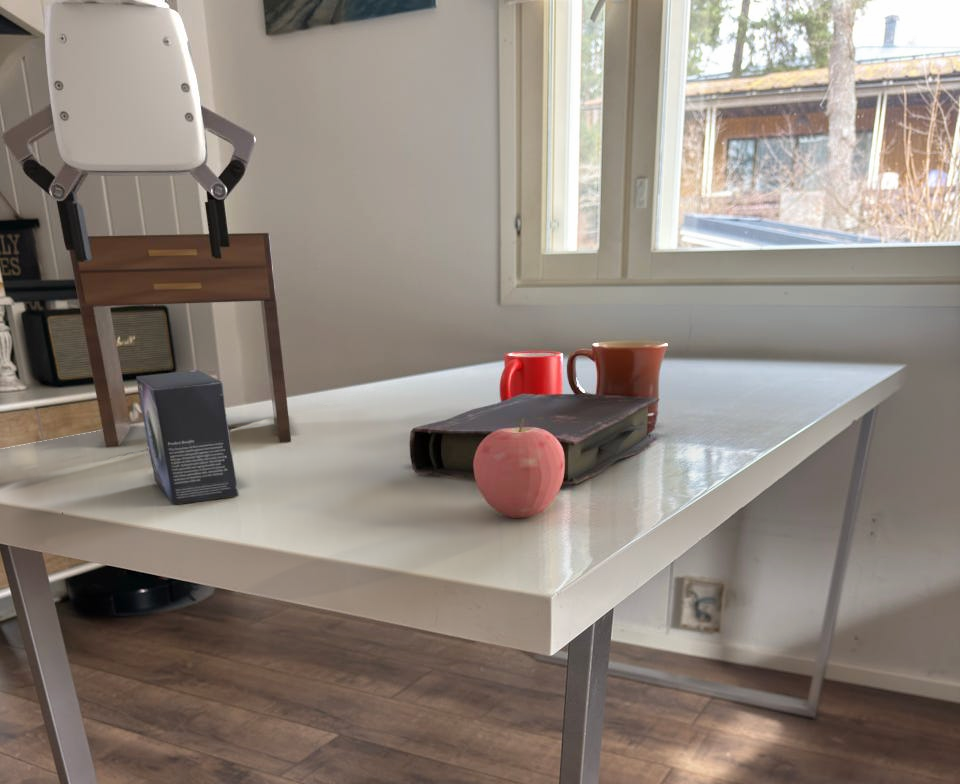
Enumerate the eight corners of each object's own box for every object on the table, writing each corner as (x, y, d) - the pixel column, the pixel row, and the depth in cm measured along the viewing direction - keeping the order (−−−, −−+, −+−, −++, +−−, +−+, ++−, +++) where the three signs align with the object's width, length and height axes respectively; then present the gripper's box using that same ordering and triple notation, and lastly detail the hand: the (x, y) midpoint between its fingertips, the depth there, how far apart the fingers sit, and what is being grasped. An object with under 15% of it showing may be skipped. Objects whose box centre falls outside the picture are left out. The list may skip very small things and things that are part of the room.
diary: (408, 475, 89) (405, 424, 87) (516, 432, 110) (516, 390, 108) (581, 492, 81) (582, 436, 79) (663, 442, 101) (666, 397, 99)
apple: (575, 507, 76) (576, 412, 73) (550, 530, 70) (550, 427, 67) (493, 501, 79) (492, 409, 76) (462, 523, 73) (459, 424, 69)
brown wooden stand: (291, 441, 108) (269, 232, 99) (107, 454, 103) (66, 236, 94) (285, 423, 120) (264, 236, 111) (120, 433, 116) (85, 239, 107)
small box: (150, 483, 89) (131, 374, 85) (216, 475, 91) (201, 369, 87) (168, 506, 80) (148, 386, 76) (241, 496, 83) (225, 379, 79)
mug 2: (671, 428, 109) (676, 341, 105) (650, 441, 102) (654, 348, 98) (579, 423, 115) (581, 339, 111) (553, 435, 107) (554, 346, 103)
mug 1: (479, 420, 118) (477, 358, 115) (522, 407, 128) (521, 350, 125) (531, 424, 115) (531, 361, 112) (571, 410, 124) (572, 351, 121)
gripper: (238, 7, 66) (266, 257, 73) (-15, -2, 62) (38, 263, 69) (240, -22, 60) (270, 256, 66) (-44, -34, 56) (18, 262, 62)
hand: (151, 259), depth 68 cm, fingers open, 9 cm apart
